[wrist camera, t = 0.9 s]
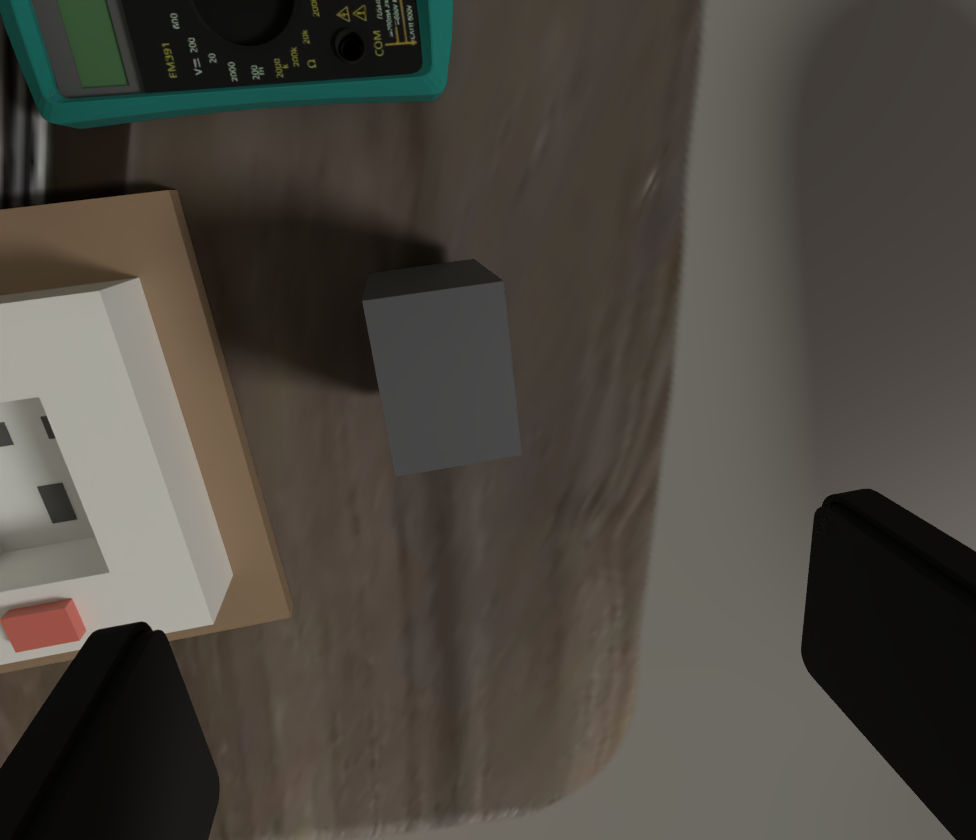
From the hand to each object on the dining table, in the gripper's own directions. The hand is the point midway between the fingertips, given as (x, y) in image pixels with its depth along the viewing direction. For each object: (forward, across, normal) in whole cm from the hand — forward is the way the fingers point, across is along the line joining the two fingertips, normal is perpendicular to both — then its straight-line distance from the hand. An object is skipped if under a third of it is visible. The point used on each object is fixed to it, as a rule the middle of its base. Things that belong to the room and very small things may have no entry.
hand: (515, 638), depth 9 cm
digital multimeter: (+21, +5, -13) cm, 25 cm away
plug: (+20, 0, 0) cm, 20 cm away
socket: (+20, +17, +3) cm, 27 cm away
